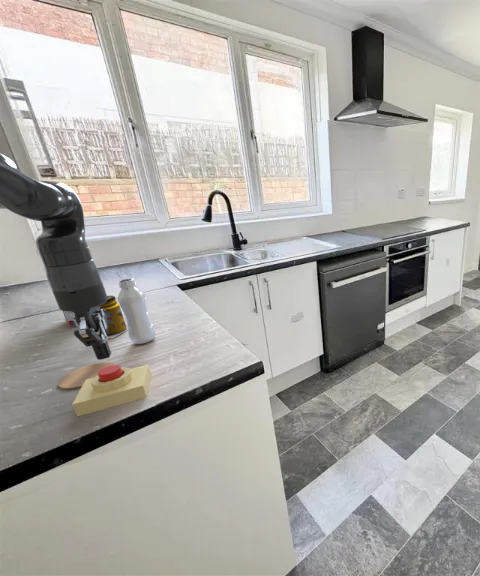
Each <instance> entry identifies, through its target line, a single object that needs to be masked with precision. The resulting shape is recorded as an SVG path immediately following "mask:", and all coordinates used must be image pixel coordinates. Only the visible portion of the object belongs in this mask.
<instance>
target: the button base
mask: <svg viewBox="0 0 480 576" xmlns="http://www.w3.org/2000/svg"><path fill="white" fill-rule="evenodd" d="M121 369H122V372H123V375H122V376H120V377H119V378H117V379H115V380H112V381H108V382H101V381H100V379H99V376H96V377H94V378H90V379H86V380H85V382H84V384H83V386H82V388H79V391H78V393H77V395H76V397H75V398H74V400H73V402H72V403H71V405H72V408H73V410H74V413H75V414H76V417H82V416H84V415H89V414H92V413H94V412H95V413H96V412H99V411H102V410H106V409H109V408H112V407H117V406H120V405H124V404H127V403H130V402H134V401H137V400H141V399H145V398H147V397H148V393H149V389H150V384H151V380H152V376H153V374H152V372H151V368H150V365H149V364H145V365H144V364H143V365H141V366H140V365H139V366H137V367H132V368H130V367H127V366H126V367H125V366H124V367H123V366H121Z"/></svg>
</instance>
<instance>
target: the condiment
mask: <svg viewBox="0 0 480 576" xmlns="http://www.w3.org/2000/svg"><path fill="white" fill-rule="evenodd" d="M107 297H108V300H107V301H106V302H105V303H104V304H102V305H99V306H100V310H103V309H105V310H106V316H107V325H108V331H109V332H108V334H106V335H107V337H108V338H107V339H114V338H116V337H119V335H122V334H123V333H125V332H127V331H129V329H128V325H127V324H126V321H125V317H124V314H123V311H122V308H121V306H120V304H119V302H118V300H117V299H116V296H115V295H107Z"/></svg>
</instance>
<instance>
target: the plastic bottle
mask: <svg viewBox="0 0 480 576" xmlns="http://www.w3.org/2000/svg"><path fill="white" fill-rule="evenodd" d="M117 283H118V288H119V289H121V290H120V291H119V293H118V295H117V303H118V304H119V306H120V309H121V311H122V313H123V315H124V317H125V320H126V323H127V324H126V325H127V326H128V338H129V340H130V342H131V343H133V344H135V345H142V344H146V343H150V342H151V341H153V340H154V339H155V337H156V335H157V334H156V329H155V327H154V325H153V324H152V321H151V319H150V316H149V313H148V308H147V301H146V294H145V293H144V291H142V290H141V288H138V287H137V283H136V281H135V278H132V277H131V278H124V279H120V280H118V282H117Z"/></svg>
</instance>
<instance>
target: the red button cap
mask: <svg viewBox="0 0 480 576" xmlns="http://www.w3.org/2000/svg"><path fill="white" fill-rule="evenodd" d="M121 367H122V366H121V365H120V364H115V365H111V366H108V367H105V368H103V369H101V370H100V371H99V372H98V376H99V379H100V381H101V382H108V381H112V380H115V379H117V378H119V377H120V376H122V375H123V372H122V369H121Z"/></svg>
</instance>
